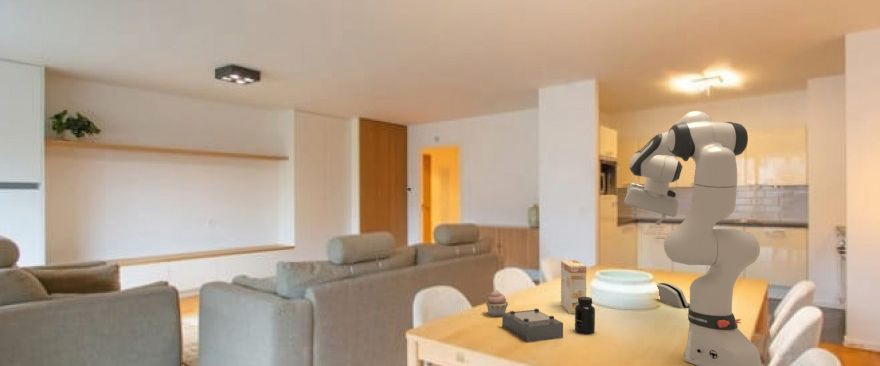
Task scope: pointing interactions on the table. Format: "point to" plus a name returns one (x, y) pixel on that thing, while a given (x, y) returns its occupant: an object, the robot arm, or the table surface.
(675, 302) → the grey curved wedge
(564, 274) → the coffeecake box
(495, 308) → the cupcake
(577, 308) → the supplement bottle
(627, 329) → the table surface
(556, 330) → the box
